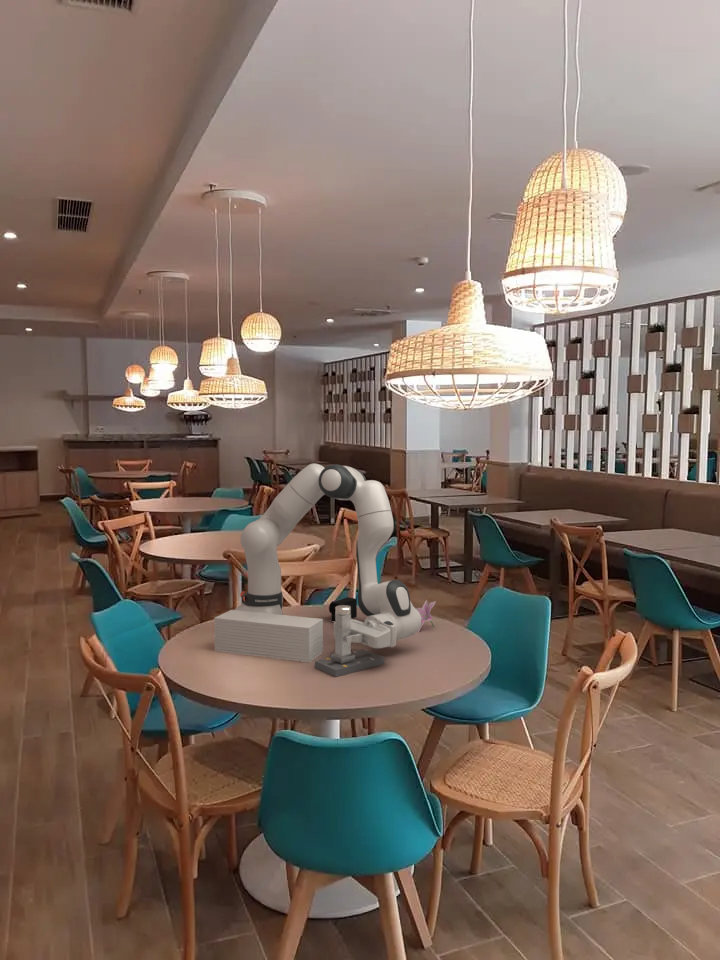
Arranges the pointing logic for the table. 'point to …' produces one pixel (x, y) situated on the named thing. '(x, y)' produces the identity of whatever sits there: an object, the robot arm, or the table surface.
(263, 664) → the table surface
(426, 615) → the lily
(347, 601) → the digital camera
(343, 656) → the lever
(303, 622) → the stack of papers
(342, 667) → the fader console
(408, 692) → the table surface
